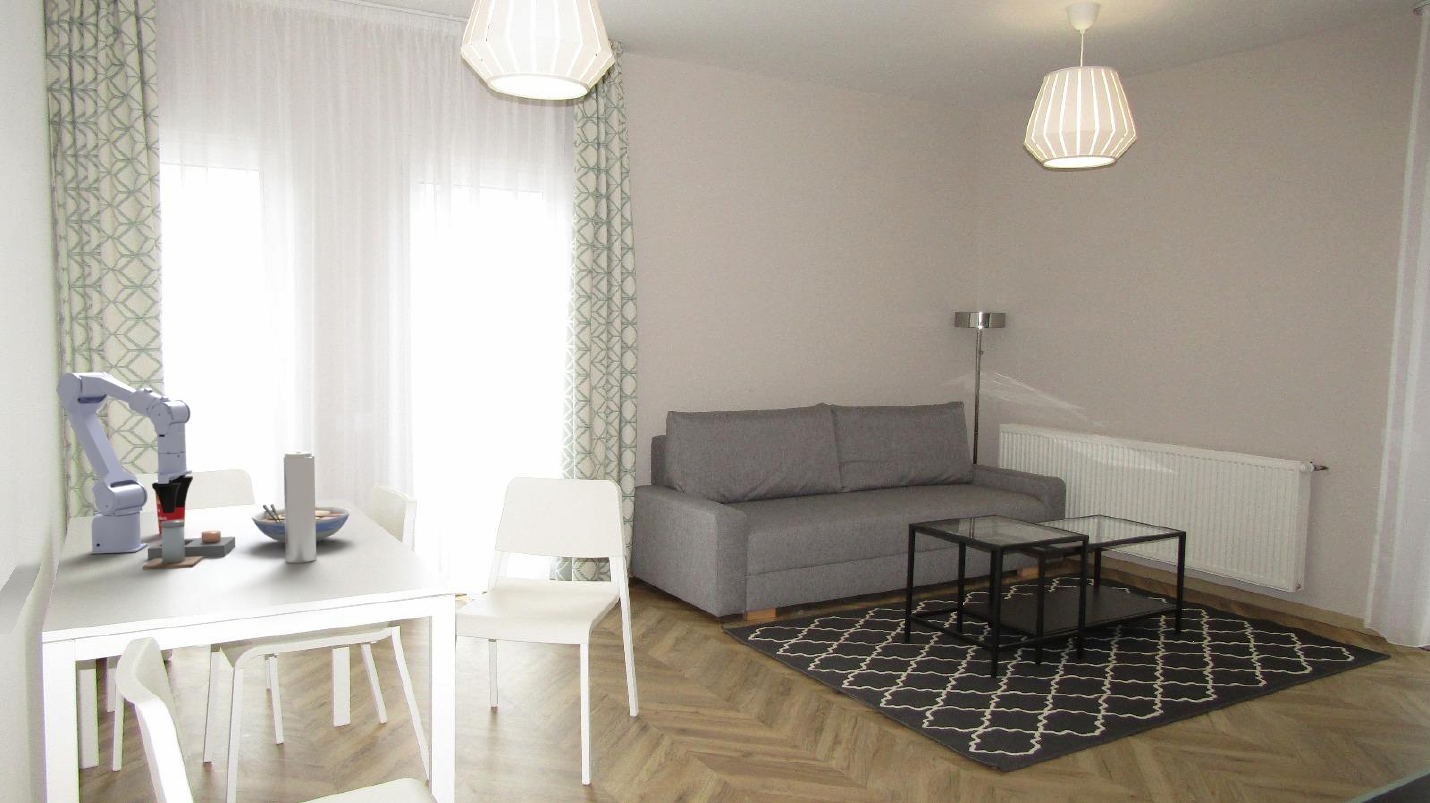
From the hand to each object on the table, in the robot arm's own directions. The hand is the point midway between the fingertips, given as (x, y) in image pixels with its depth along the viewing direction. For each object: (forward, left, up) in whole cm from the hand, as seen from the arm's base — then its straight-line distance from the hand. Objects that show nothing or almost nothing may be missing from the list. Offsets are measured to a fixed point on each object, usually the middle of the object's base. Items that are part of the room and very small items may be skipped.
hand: (174, 510), depth 219 cm
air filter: (+30, -13, -11) cm, 34 cm away
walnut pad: (+3, -11, -10) cm, 15 cm away
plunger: (+8, 0, -8) cm, 11 cm away
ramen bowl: (+27, +7, -11) cm, 30 cm away
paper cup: (-8, +26, -11) cm, 29 cm away
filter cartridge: (+3, -11, -10) cm, 15 cm away
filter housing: (+4, 0, -10) cm, 11 cm away
